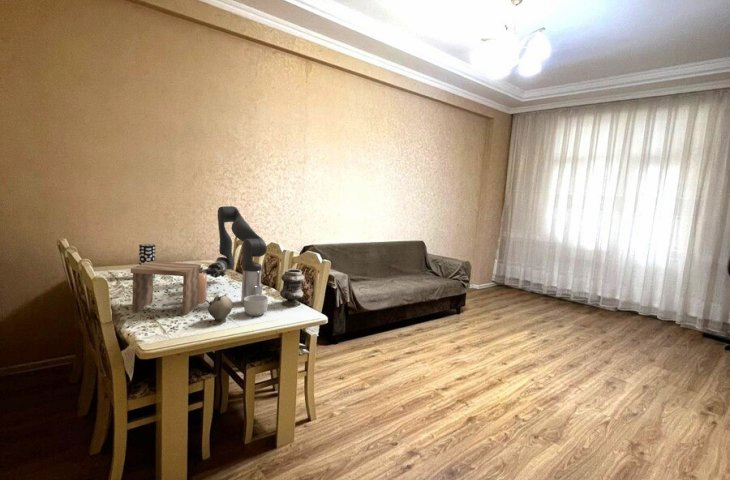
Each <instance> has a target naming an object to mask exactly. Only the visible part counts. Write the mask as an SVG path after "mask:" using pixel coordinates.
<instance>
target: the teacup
mask: <svg viewBox="0 0 730 480" xmlns="http://www.w3.org/2000/svg"><path fill="white" fill-rule="evenodd" d="M268 300H269V297H268V296H267V295H263V294H262V295H259V294H256V295H251V296H247V297H245V298H244V304H243V307H244V311H245V313H246V314H248V315H249V316H251V317H258V316H262V315H263V314H264V313H265V312H267V310H268V303H269V302H268Z"/></svg>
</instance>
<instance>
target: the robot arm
mask: <svg viewBox="0 0 730 480" xmlns="http://www.w3.org/2000/svg"><path fill="white" fill-rule="evenodd" d="M225 223H231V231H232V234H233V235H234V236H235V238H237V239H238V240H240V241H242V242H243V243H242V247H241V248H242V251H241V252H242V259H241V261H242V276H241V277H242V278H241V280H242V281H241V297H240V298H241V300H240V301H241V302H240V303H241V304H243V305H244V298H245V297H247V296H251V295H256V294H259V295H263V284H262V268H263V267H262V264H261V263H258V262H257V261H254V260H253V258H255V257H256V258H258V257H264V255H266V253H267V244H266V241H265V240H264V239H263V238H262V237H261V236H259V234H257V233H256V231H254V229H253V228H252V227H251V226H250V224H248V222H247V221H246V220H245V219H244V217H243V216H242V215H241V212H240V211H239V209H238V208H237V207H236V206H234V205H233V206H232V205H231V206H230V205H229V206H226V205H225V206H220V207H219V208H218V210H217V226H218V235H219V249H218V250H219V254H220V255H222V256H219V257H217V258H216V261H215V262H213V263H211V264H209V265H208V266H207V268H202V267H201V269H199V273H206V274H207V276H210V277H212V278H215V279H216V278H219V277H221V278H223V277H225V276H226V273H227V272H226V271H227V270H233V268H234V267H235V260H234V256H233V241H232V238H231V237H232V236H230V235H229V233H228V231H227V229H226V226H225ZM223 256H224V257H223Z"/></svg>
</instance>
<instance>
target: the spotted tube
mask: <svg viewBox="0 0 730 480" xmlns="http://www.w3.org/2000/svg"><path fill="white" fill-rule="evenodd" d="M150 261H156V244H151V243H141V244H139V245H138V266H139V265H141V264H144V263H147V262H150ZM155 278H156V274H153V280H154V279H155Z"/></svg>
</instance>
